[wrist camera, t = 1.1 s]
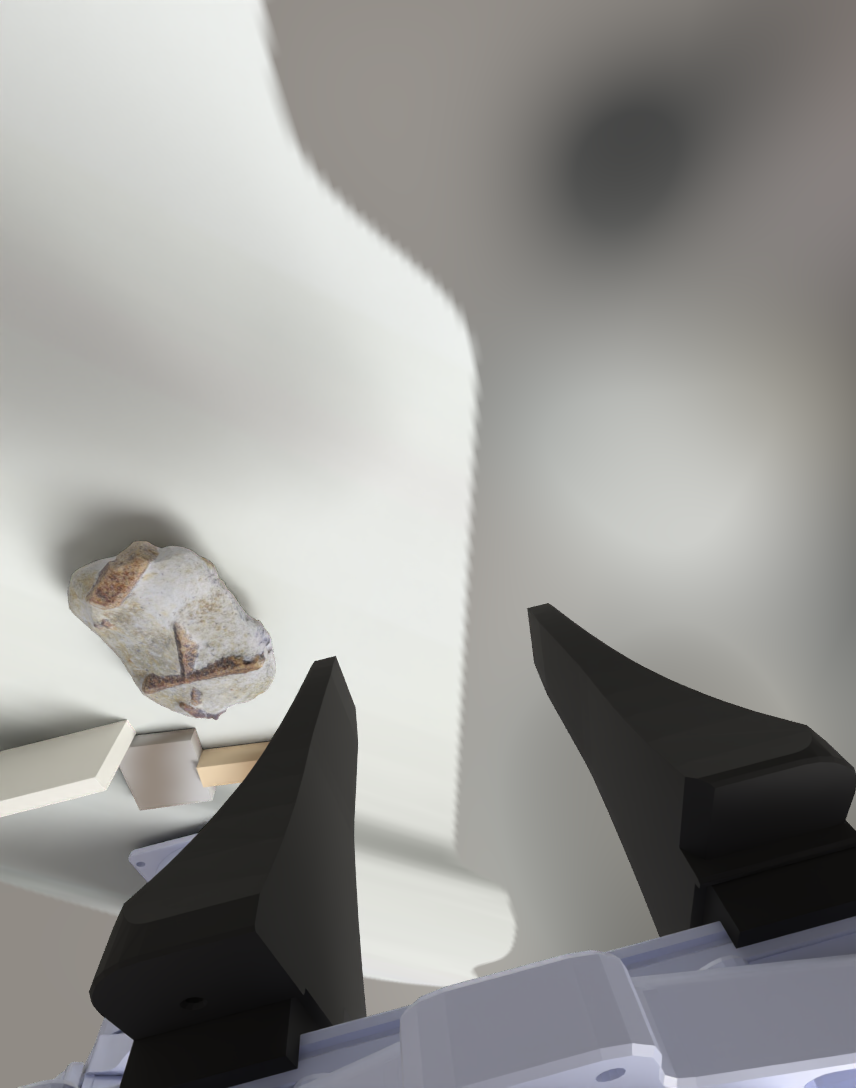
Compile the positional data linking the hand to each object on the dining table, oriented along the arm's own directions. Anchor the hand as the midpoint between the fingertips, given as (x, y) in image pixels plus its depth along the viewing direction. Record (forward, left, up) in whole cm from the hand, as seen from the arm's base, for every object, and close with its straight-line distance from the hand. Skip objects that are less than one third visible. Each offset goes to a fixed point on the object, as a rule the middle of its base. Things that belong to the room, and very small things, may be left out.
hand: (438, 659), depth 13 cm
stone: (+1, +9, -10) cm, 14 cm away
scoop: (-12, +13, -10) cm, 20 cm away
